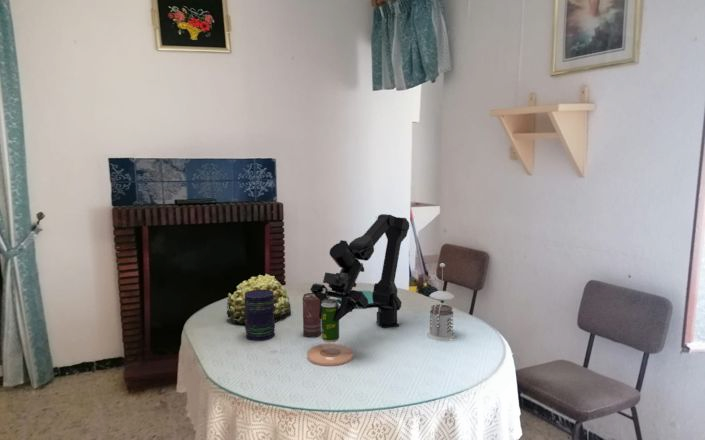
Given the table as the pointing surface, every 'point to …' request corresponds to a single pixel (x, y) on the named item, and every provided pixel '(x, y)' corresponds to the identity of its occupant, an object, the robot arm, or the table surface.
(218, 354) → the table surface
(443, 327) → the french press
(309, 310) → the can
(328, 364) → the saucer
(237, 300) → the cauliflower
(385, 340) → the table surface
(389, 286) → the robot arm
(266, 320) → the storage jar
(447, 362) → the table surface
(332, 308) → the beer can
